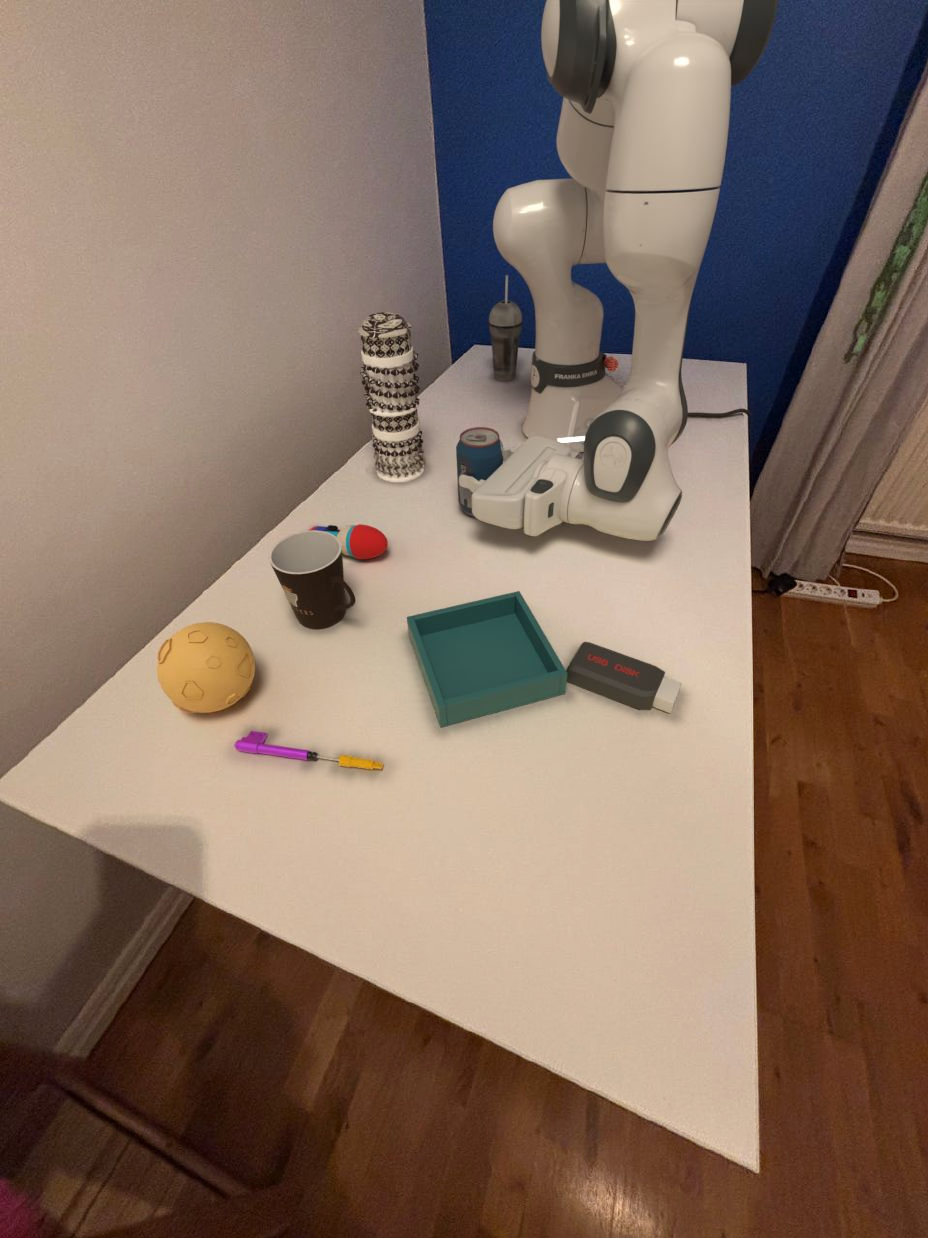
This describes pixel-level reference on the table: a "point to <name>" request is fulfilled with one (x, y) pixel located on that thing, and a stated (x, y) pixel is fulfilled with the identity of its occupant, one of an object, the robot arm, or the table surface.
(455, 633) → the bin
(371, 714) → the table surface
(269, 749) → the purple orange rod tool
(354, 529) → the toy figure
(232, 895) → the table surface
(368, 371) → the decorative candle
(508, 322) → the beverage cup
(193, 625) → the stress ball
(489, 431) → the soda can
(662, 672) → the usb drive
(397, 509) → the table surface
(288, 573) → the coffee mug
